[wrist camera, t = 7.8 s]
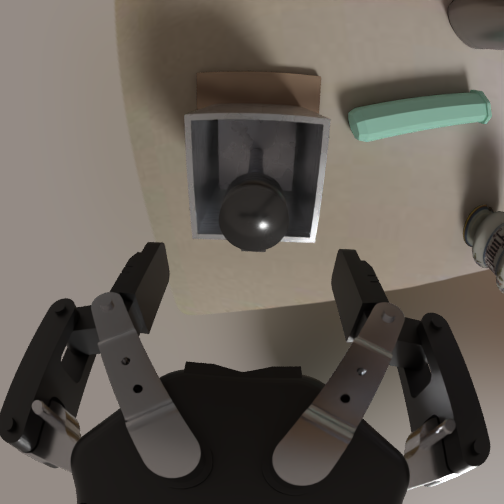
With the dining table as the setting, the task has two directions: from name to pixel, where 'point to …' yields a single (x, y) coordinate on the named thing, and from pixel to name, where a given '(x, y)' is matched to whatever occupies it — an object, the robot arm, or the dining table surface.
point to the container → (418, 114)
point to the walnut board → (258, 89)
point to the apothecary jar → (487, 240)
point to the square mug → (298, 200)
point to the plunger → (255, 180)
